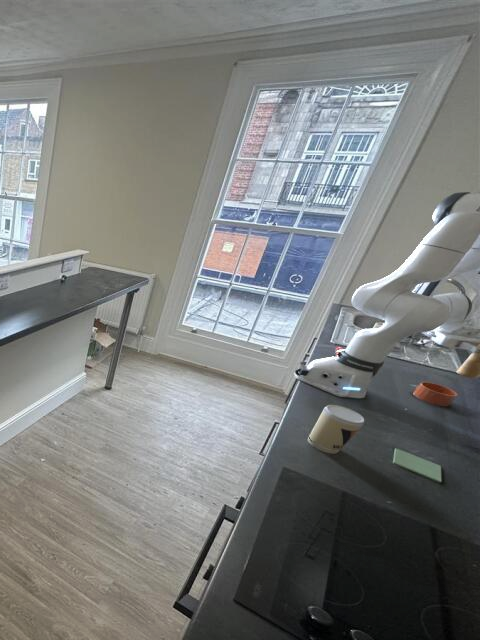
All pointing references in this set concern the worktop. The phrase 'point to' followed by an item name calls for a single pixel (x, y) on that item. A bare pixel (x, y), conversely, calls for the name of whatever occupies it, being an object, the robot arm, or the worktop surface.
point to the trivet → (417, 465)
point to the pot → (435, 393)
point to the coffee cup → (335, 428)
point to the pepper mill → (471, 366)
